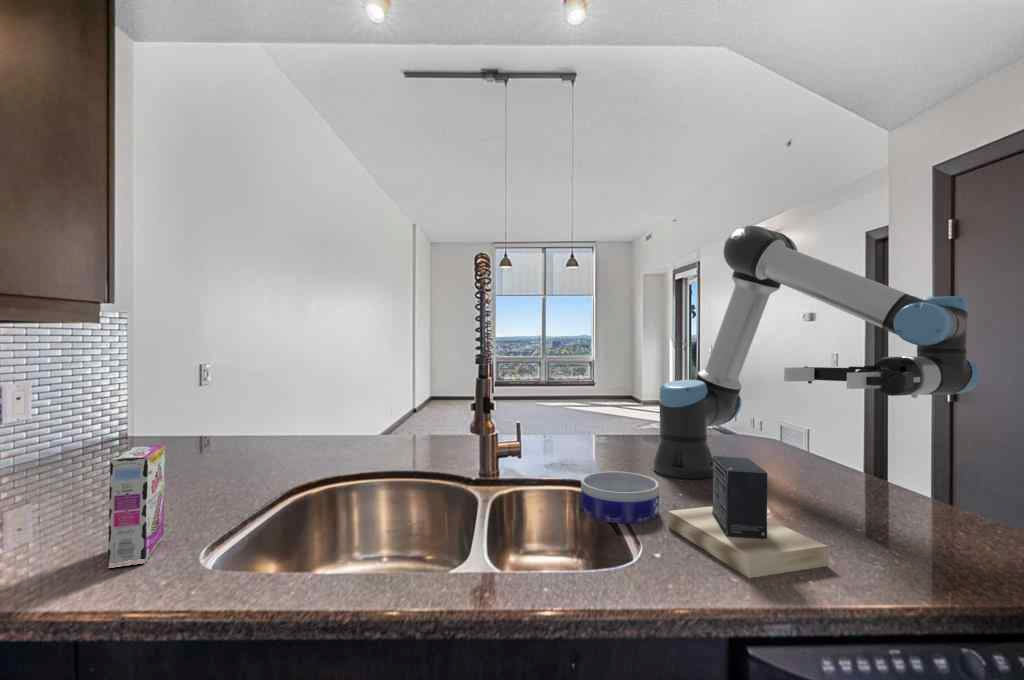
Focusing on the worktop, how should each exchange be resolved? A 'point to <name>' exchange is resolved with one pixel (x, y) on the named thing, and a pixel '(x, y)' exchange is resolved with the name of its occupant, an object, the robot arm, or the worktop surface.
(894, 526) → the worktop surface
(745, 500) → the small box
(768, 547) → the maple board
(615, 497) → the dog bowl
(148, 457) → the candy bar box
